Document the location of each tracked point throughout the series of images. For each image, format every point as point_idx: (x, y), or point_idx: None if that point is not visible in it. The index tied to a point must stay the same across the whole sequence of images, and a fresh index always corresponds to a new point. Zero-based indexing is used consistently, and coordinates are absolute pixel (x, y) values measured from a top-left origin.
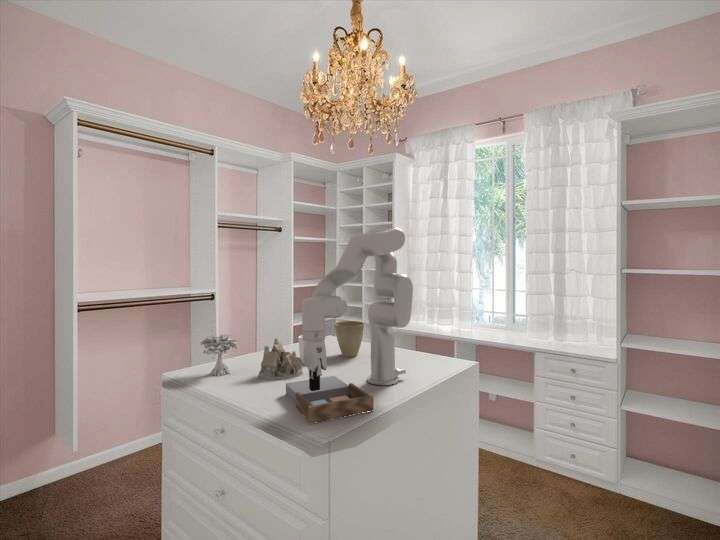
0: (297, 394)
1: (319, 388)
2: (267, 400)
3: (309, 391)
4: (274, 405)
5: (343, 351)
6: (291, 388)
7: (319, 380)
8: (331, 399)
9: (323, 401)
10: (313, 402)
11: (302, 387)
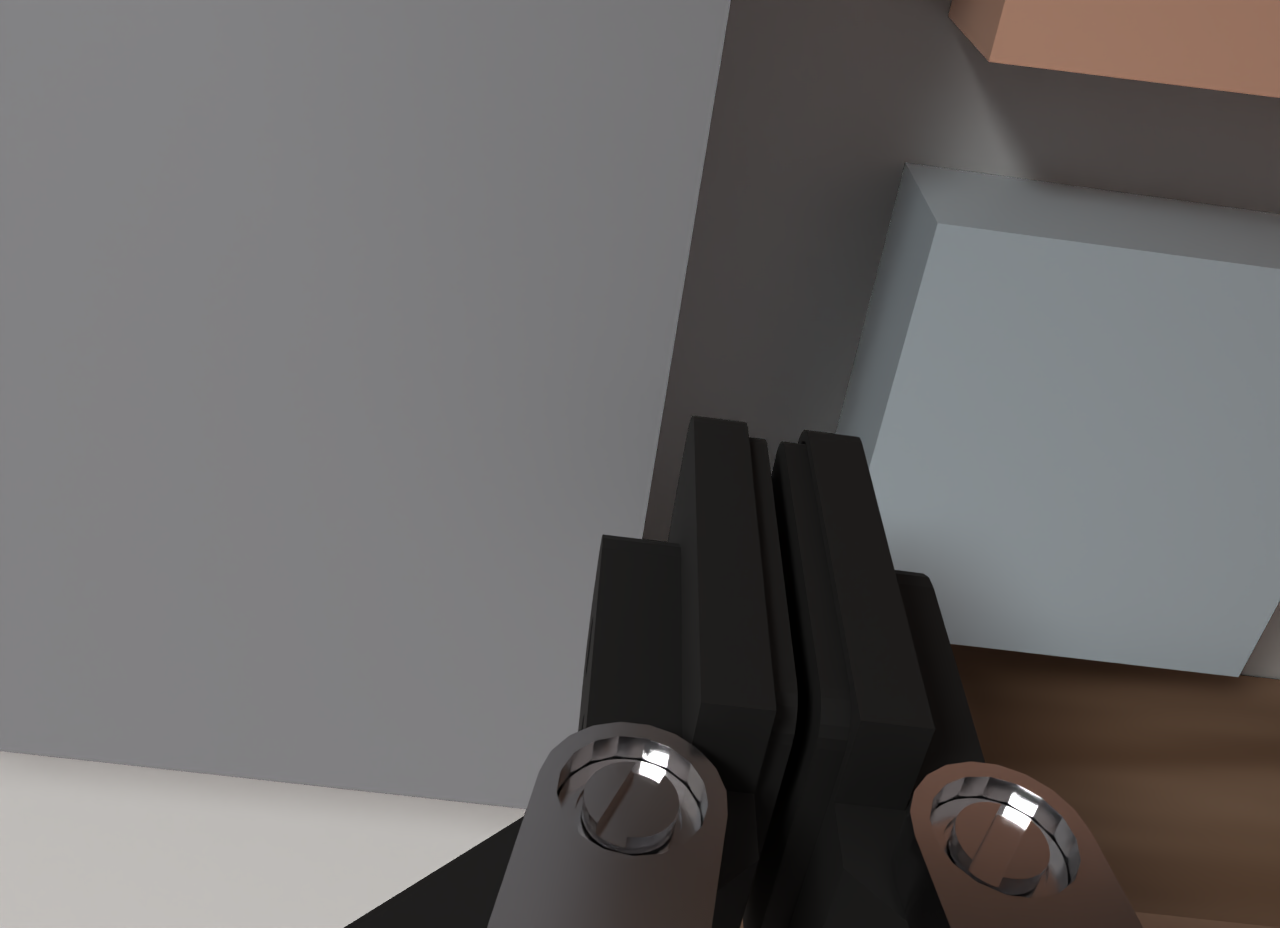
0: (741, 925)
1: (856, 463)
2: (6, 846)
3: (509, 527)
4: (305, 846)
5: None
6: (37, 746)
7: (908, 658)
8: (1116, 48)
9: (1068, 319)
10: (937, 530)
11: (63, 528)
